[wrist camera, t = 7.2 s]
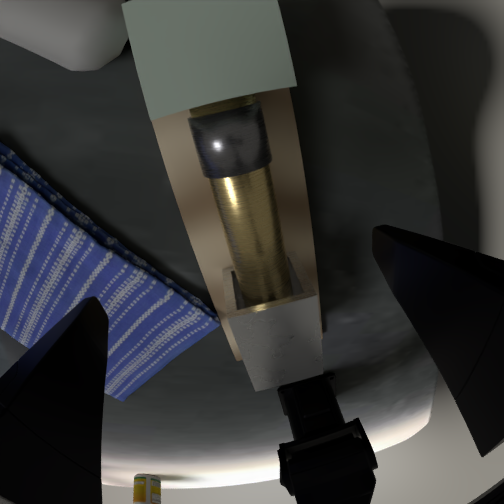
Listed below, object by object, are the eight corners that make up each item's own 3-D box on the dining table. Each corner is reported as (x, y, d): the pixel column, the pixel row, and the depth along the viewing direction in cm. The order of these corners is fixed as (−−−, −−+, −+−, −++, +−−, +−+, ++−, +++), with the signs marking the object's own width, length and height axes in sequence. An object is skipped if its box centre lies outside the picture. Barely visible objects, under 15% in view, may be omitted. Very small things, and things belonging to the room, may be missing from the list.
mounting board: (320, 334, 27) (322, 338, 26) (236, 356, 27) (236, 361, 26) (261, -18, 12) (263, -21, 12) (126, 14, 12) (123, 12, 11)
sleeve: (306, 328, 25) (323, 373, 21) (247, 343, 25) (255, 391, 21) (295, 250, 21) (317, 295, 17) (221, 269, 21) (227, 318, 17)
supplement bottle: (162, 476, 44) (163, 518, 36) (158, 482, 46) (159, 521, 38) (134, 471, 42) (134, 514, 34) (133, 478, 44) (132, 517, 36)
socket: (271, 86, 15) (296, 85, 11) (167, 111, 15) (150, 120, 11) (251, 1, 12) (269, -30, 8) (145, 26, 12) (121, 4, 8)
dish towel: (-9, 125, 14) (-32, 133, 11) (226, 306, 24) (229, 331, 22) (-50, 273, 18) (-64, 290, 16) (124, 392, 29) (121, 413, 26)
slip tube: (290, 282, 21) (304, 316, 18) (241, 295, 21) (247, 331, 18) (240, 41, 13) (249, 28, 10) (174, 57, 13) (165, 48, 10)
